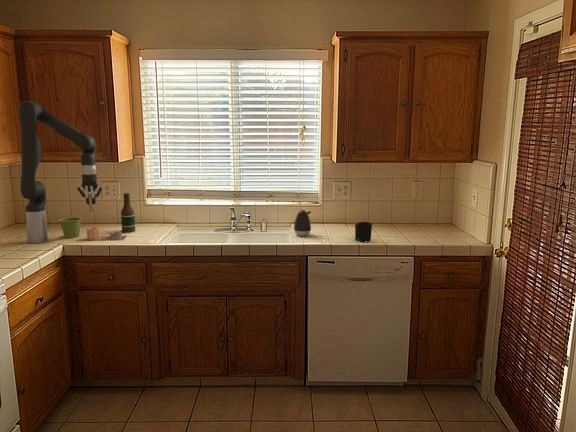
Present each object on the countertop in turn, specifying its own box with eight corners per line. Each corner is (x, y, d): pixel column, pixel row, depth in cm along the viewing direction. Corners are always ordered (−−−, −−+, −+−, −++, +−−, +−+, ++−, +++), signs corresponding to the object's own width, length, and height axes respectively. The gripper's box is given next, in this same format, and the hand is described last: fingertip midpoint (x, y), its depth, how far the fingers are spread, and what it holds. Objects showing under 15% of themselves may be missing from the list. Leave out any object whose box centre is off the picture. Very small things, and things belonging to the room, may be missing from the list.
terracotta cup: (86, 240, 252) (85, 229, 251) (89, 237, 258) (88, 227, 257) (98, 239, 253) (97, 229, 252) (101, 237, 259) (100, 226, 258)
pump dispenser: (313, 236, 269) (314, 211, 266) (297, 237, 266) (297, 212, 263) (307, 232, 279) (308, 208, 276) (291, 233, 276) (291, 209, 273)
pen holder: (352, 238, 265) (353, 221, 263) (368, 238, 266) (369, 221, 264) (356, 242, 256) (357, 225, 254) (373, 242, 257) (374, 225, 255)
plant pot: (83, 235, 267) (81, 216, 265) (83, 239, 257) (82, 220, 255) (60, 237, 262) (58, 217, 260) (60, 241, 252) (58, 221, 250)
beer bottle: (121, 234, 270) (118, 194, 265) (123, 231, 277) (120, 192, 273) (134, 234, 271) (132, 194, 267) (136, 231, 279) (134, 192, 274)
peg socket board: (83, 243, 250) (82, 235, 249) (89, 238, 260) (88, 231, 260) (123, 242, 253) (123, 235, 252) (127, 237, 263) (127, 230, 263)
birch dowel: (89, 212, 251) (87, 194, 249) (90, 211, 253) (88, 193, 252) (93, 212, 252) (91, 194, 250) (94, 211, 254) (93, 193, 252)
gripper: (73, 173, 244) (75, 205, 247) (100, 173, 246) (102, 205, 249) (77, 172, 251) (80, 203, 254) (104, 172, 253) (106, 203, 256)
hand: (91, 204), depth 252 cm, fingers closed on birch dowel, 2 cm apart
